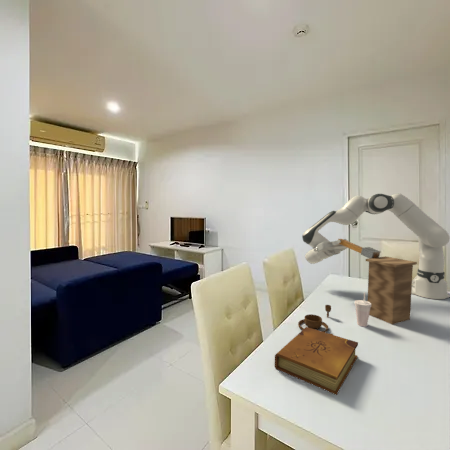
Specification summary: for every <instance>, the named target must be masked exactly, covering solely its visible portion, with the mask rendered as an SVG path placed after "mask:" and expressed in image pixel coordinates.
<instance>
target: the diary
mask: <svg viewBox="0 0 450 450" xmlns="http://www.w3.org/2000/svg"><path fill="white" fill-rule="evenodd" d="M303 328H304V327H303ZM322 331H323V330H318V329H317V330H315V329H312V328H308V327H307V326H305V328H304V329H303V330H301V331H300V332H299V333H298V334H297V335H295V336H294V337H293V338H292V339H290V341H289V342H288V343H287V344H285V345H284V346H283V347H281V349H280V350H279V351H277V353H275V354H274V368H275V369H276V370H278V371H280V372H282V373H285V374H288V375H289V376H292V377H294V378H296V379H298V380H300V381H303V382H305V383H308V384H310V385H312V384H313V385H312V386H314V385H315V386H314V387H317V388H319V387H320V388H319V389H321V388H322V390H324V389H325V390H324V391H326V390H327V391H326V392H328V391H329V392H328V393H331V394H333V393H334V394H333V395H335V394H336V395H335V396H337V395H338V393H339V392H340V390H339V389H341V388H342V386H343V384H344V382H345V380H346V378H347V377H348V376H349V374H350V371H351V370H352V368H353V366H354V364H355V362H356V360H357V359H358V356H359V355H356V349H357V348H358V347H359V342H358V341H355V340H353V339H352V340H351V339H347V338H344V337H342V336H337V335H335V334H333V333H328V332H326V333H325V332H322ZM332 334H333V335H332ZM340 387H341V388H340ZM338 391H339V392H338Z"/></svg>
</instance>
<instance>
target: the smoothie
mask: <svg viewBox="0 0 450 450" xmlns="http://www.w3.org/2000/svg"><path fill="white" fill-rule="evenodd" d="M354 305H355V312H356V313H355V314H356V323H357V325H358V326H360V327H365V328H366V327H367V326H368V322H369V318H370V315H369V312H370V307H371V303H370V302H368V300H366V292H365V291H364V292H363V299H356V300H354Z"/></svg>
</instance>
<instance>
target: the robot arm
mask: <svg viewBox="0 0 450 450" xmlns="http://www.w3.org/2000/svg"><path fill="white" fill-rule="evenodd" d="M386 211H389V212H391V213H393V214H394V216H395V217H396V218H397V219H398V220H399V221H400V222H402V224H403V225H404V226H406V227H407V228H408V229H409V230H410V231H411V232H412V233H414V234H415V235H416V236H417V237H418V239H417V240H418V241H417V242H418V253H419V254H418V257H419V259H418V268H417V271H416V275H415V277H414V278H412V290H411V295H416V296H419V297H422V298H427V299H432V300H444V299H447V298H448V299H449V297H450V294H448V282H447V281H446V280H445V277H446V275H445V274H446V273H445V270H444V269H445V255H444V247H445V246H446V245H448V243H449V242H450V235H449V233H448V231H447V230H446V229H445V228H444V227H442V226H441V224H439V223H438V222H436V220H434V219H432V218H431V217H430V216H428V215H427V214H426V213H425V212H424V211H423V210H422V209H421V208H420V207H419V206H417V205H416V204H415V202H413V201H412V199H409V198H408V197H406V196H405V195H403V194H402V193H393V194H392V195H387V194H385V193H375V194H373V195H372V196H370V197H369V198H365V197H363V196H362V195H354V196H353V197H352V198H350V199H349V200H347V202H346V203H345V204H344V205H343V206H342V207H340V208H339V209H338V210H331V211H330V212H328V213H326V214H325V215H324V216H323V217H322V218H320V219H319V220H318V221H317V222H315V223H314V224H313V225H312V226H310V227H309V228H308V229H306V230H305V231H303V233H302V236H301V237H302V241H303V242H304V243H305V244H306V245H309V246H310V247H311V249H309V250H308V251H307V252H306V253H305V255H304V258H305V260H306V261H307V262H308V263H309V264H311V265H312V264H313V265H314V264H318V263H320V262H322V261H324V260H325V259H328V258H331V257H333V256H337V255H339V254H341V252H343V251H345V250H347V249H348V248H347V247H345V246H343V245H341V244H340V243H342V241H341V240H338V239H337V240H333V241H330V239H328V238H326V236H324V235H323V234H321V233H320V232H319V231H320V230H321V229H323V228H324V227H325V226H326V225H328V224H329V223H337V224H340V225H343V226H349V225H352V224H354V223H355V222H356V221H357V220H358V219H359V218H360V217H361V216H362V214H364V213H368V214H371V215H378V214H382V213H384V212H386ZM344 240H346V241H348V242H350V241H349V240H348V239H346V238H344Z"/></svg>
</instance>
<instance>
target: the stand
mask: <svg viewBox="0 0 450 450" xmlns="http://www.w3.org/2000/svg"><path fill="white" fill-rule="evenodd" d="M365 262H367V263H368V276H367V277H368V280H367V301H368V302H370V303H371V307H370V312H369V317H370V316H371V317H373V318H375V319H378V320H380V321H383V322H386V323H388V324H390V325H392V326H393V325H396V324H400V323H403V322H406V321H410V320H411V309H412V294H411V290H412V285H413V284H412V280H413V269H414V268H413V267H414V266H416V265H418V262H417V261H412V260H407V259H402V258H396V257H393V256H392V257H391V256H379V257H377V258H365Z"/></svg>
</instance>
